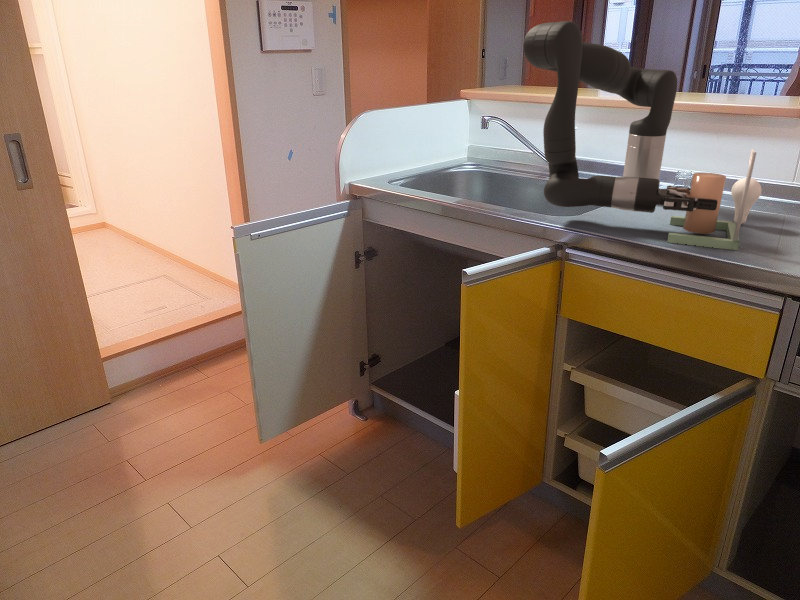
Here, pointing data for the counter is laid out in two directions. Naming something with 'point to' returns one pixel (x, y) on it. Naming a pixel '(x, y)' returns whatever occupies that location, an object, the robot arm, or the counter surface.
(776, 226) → the counter surface
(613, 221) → the counter surface
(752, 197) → the lightbulb
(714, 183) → the peach cylinder
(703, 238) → the green u-shaped stand
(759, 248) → the counter surface
